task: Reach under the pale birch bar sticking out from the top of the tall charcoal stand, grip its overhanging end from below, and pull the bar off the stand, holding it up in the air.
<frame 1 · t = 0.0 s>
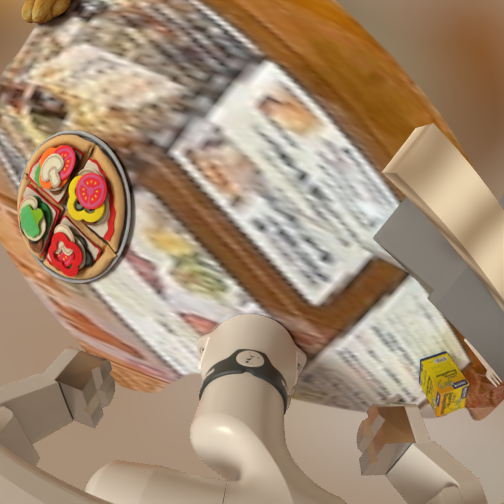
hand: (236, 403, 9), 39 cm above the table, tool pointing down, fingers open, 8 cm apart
birch bar: (499, 268, 19), point 26 cm above the table, touching charcoal stand
bread roll: (53, 8, 39), on the table
charcoal stand: (421, 242, 45), on the table
fork: (482, 360, 50), on the table
toy pizza: (69, 207, 49), on the table
supplement box: (431, 366, 50), on the table
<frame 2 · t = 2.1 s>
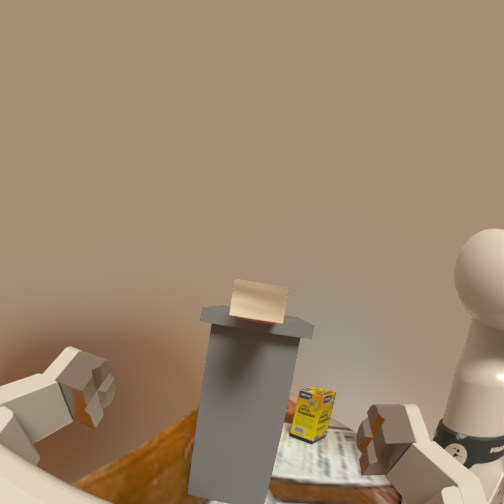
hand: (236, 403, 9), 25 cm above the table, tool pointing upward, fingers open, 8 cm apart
birch bar: (258, 315, 36), point 26 cm above the table, touching charcoal stand
charcoal stand: (230, 477, 38), on the table
supplement box: (307, 437, 58), on the table
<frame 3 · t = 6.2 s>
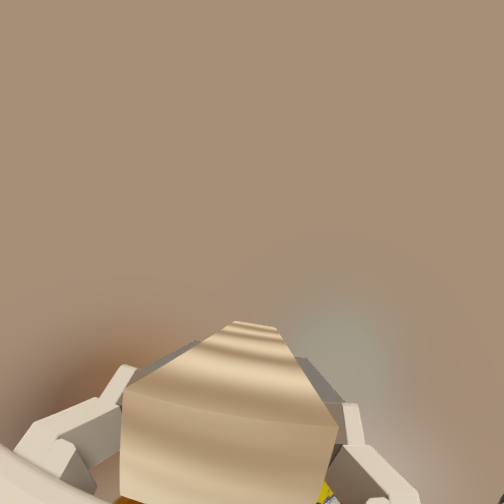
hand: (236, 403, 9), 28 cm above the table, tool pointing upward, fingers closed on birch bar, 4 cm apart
birch bar: (243, 386, 17), point 26 cm above the table, touching charcoal stand, gripper
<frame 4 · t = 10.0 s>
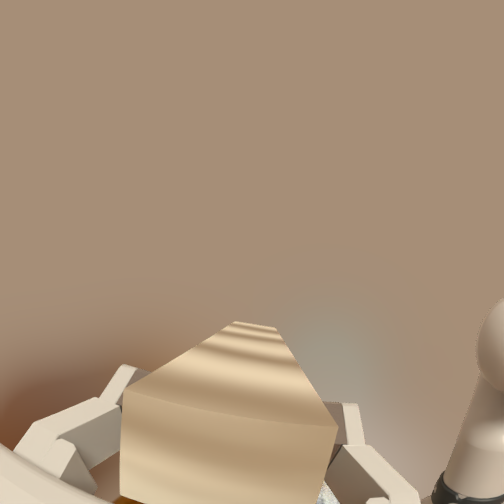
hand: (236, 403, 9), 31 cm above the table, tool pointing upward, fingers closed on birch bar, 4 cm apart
birch bar: (243, 387, 17), point 29 cm above the table, touching gripper
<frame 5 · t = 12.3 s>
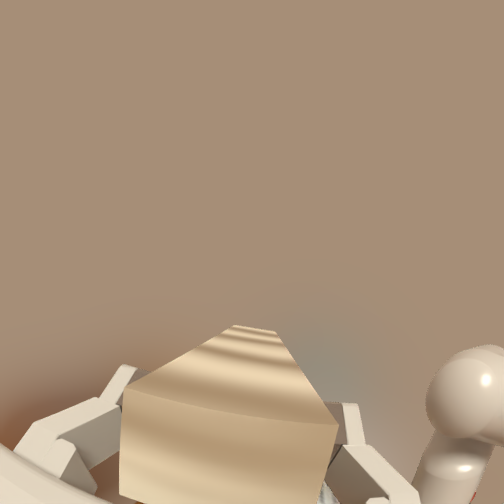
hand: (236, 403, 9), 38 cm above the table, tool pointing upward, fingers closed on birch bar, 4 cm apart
birch bar: (242, 389, 17), point 36 cm above the table, touching gripper
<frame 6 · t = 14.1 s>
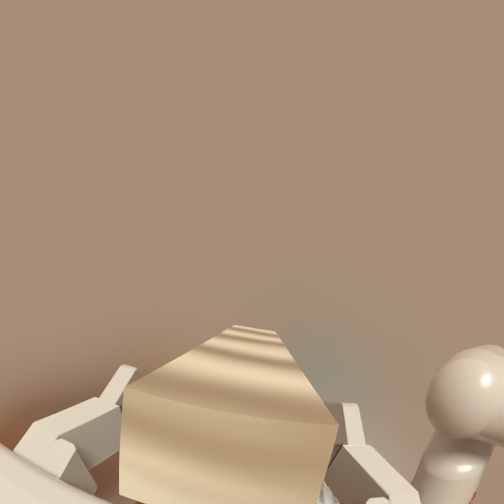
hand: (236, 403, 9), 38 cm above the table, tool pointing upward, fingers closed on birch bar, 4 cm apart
birch bar: (242, 389, 17), point 36 cm above the table, touching gripper
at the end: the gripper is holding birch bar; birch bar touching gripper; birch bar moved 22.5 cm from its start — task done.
